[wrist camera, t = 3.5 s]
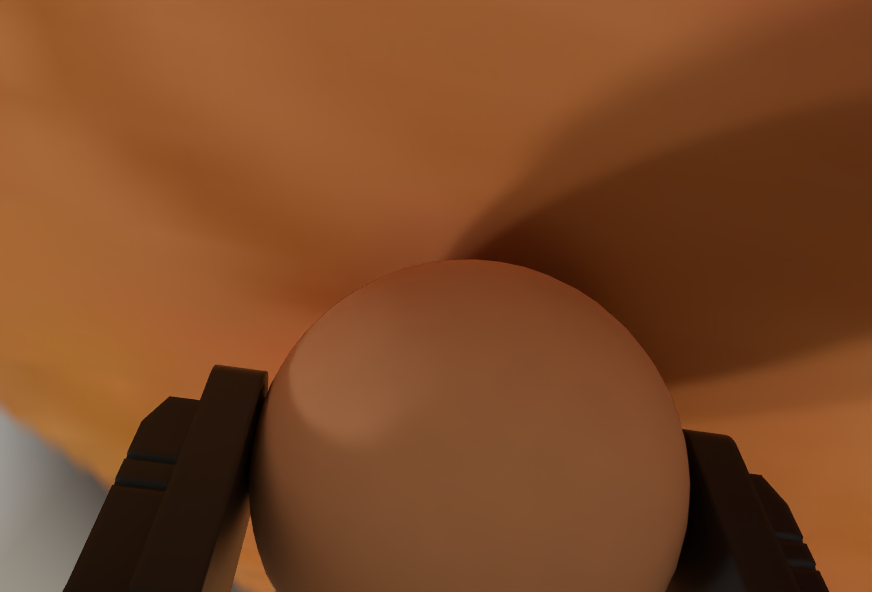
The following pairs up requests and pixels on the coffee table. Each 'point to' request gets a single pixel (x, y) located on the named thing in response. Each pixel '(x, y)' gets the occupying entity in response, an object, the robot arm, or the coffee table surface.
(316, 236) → the coffee table surface
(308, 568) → the peach
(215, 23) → the coffee table surface
